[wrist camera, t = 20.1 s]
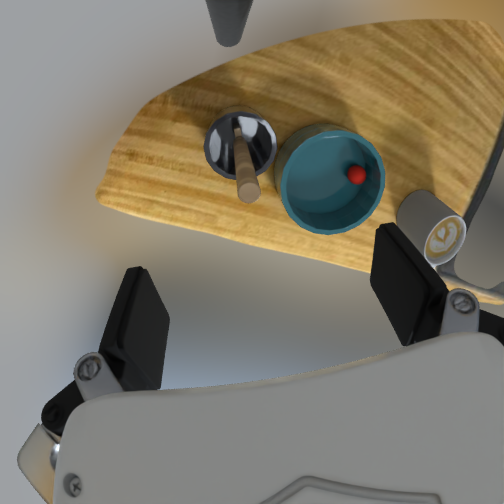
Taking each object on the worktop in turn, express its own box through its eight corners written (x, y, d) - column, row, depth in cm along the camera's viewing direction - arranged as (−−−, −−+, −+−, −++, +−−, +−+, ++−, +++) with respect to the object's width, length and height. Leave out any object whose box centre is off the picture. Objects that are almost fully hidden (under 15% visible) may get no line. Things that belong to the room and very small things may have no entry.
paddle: (230, 124, 37) (233, 171, 18) (241, 122, 37) (256, 166, 18) (234, 147, 39) (242, 217, 20) (245, 145, 39) (264, 213, 20)
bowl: (267, 129, 38) (273, 137, 33) (366, 120, 38) (385, 128, 33) (280, 223, 47) (286, 242, 42) (366, 209, 46) (382, 226, 41)
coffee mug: (403, 187, 44) (434, 214, 36) (441, 191, 45) (472, 216, 37) (386, 250, 52) (410, 282, 44) (423, 249, 53) (447, 278, 44)
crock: (203, 111, 36) (197, 119, 28) (262, 101, 35) (271, 106, 28) (215, 164, 40) (212, 186, 33) (270, 154, 40) (280, 174, 33)
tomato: (343, 176, 40) (353, 159, 39) (344, 179, 43) (353, 163, 42) (360, 187, 39) (370, 170, 38) (360, 188, 42) (369, 173, 41)
